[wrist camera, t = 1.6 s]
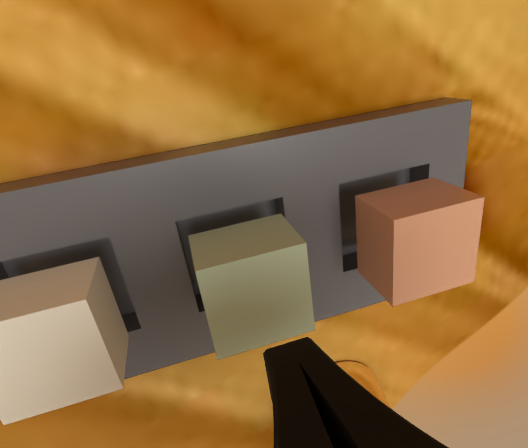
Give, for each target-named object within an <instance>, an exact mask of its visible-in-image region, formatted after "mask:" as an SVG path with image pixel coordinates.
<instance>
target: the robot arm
mask: <svg viewBox="0 0 528 448" xmlns="http://www.w3.org/2000/svg"><path fill="white" fill-rule="evenodd" d="M263 355H264V361H265V366H266V372H267V377H268V383H269V388H270V394H271V399H272V402H273V416H274V448H448V447H447V446H445V445H443V444H442V443H440V442H438V441H437V440H435V439H434V438H432V437H431V436H429V435H428V434H426V433H424V432H423V431H422V430H420V429H419V428H417V427H416V426H414V425H413V424H411V423H410V422H408V421H407V420H406V419H404V418H403V417H401V416H400V415H399V414H397V413H396V412H395V411H393V410H392V409H391V408H389V407H388V406H387V405H385V404H384V403H383V402H381V401H380V400H379V399H378V398H376V397H375V396H374V395H373V394H371V393H370V392H369V391H368V390H366V389H365V388H364V387H363V386H362V385H360V384H359V383H358V382H357V381H356V380H354V379H353V378H352V377H351V376H350V375H348V374H347V373H346V372H345V371H344V370H343V369H342V368H341V367H339V366H338V365H337V364H336V363H335V362H334V361H333V360H332V359H331V358H330V357H329V356H328V355H327V354H326V353H324V352H323V351H322V350H321V349H320V348H319V347H318V346H317V345H316V344H315V343H314V341H313V340H312V339H310V338H308V337H305V338H302V339H299V340H296V341H292V342H289V343H286V344H283V345H279V346H276V347H273V348H270V349H267V350H266V351H265V352H264V353H263Z"/></svg>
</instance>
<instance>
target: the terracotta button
mask: <svg viewBox="0 0 528 448" xmlns="http://www.w3.org/2000/svg"><path fill="white" fill-rule="evenodd" d="M483 205H484V197H483V196H480V195H478V194H475V193H473V192H470V191H467V190H465V189H462V188H460V187H457V186H455V185H452V184H449V183H447V182H444V181H442V180H439V179H436V178H434V177H432V178H428V179H423V180H419V181H415V182H411V183H407V184H402V185H398V186H394V187H390V188H386V189H381V190H377V191H373V192H369V193H365V194H360V195H356V196H355V207H356V236H357V265H358V272H359V273H360V274H361V275H362V276H363V277H364V278H365V279H366V280H367V281H368V282H369V283H370V284H371V285H372V286H373V287H374V288H375V289H376V290H377V291H378V292H379V293H380V294H381V295H382V296H383V297H384V298H385V299H386V300H387V301H388V302H389V303H390V304H391V305H392V306H396V305H399V304H403V303H406V302H409V301H412V300H416V299H419V298H422V297H425V296H429V295H432V294H435V293H439V292H442V291H445V290H448V289H452V288H455V287H458V286H461V285H465V284H468V283H471V282H474V277H475V269H476V261H477V253H478V245H479V237H480V229H481V221H482V213H483Z"/></svg>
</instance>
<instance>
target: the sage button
mask: <svg viewBox="0 0 528 448" xmlns="http://www.w3.org/2000/svg"><path fill="white" fill-rule="evenodd" d="M188 238H189V243H190V248H191V253H192V259H193V264H194V269H195V273H196V277H197V281H198V285H199V289H200V293H201V297H202V301H203V305H204V309H205V313H206V317H207V321H208V325H209V328H210V332H211V336H212V340H213V344H214V348H215V352H216V356H217V360H219V359H222V358H226V357H229V356H232V355H236V354H239V353H242V352H245V351H249V350H252V349H255V348H258V347H262V346H265V345H268V344H272V343H275V342H278V341H281V340H285V339H288V338H291V337H295V336H298V335H301V334H304V333H308V332H311V331H314V330H315V324H314V314H313V304H312V294H311V284H310V274H309V264H308V254H307V244H306V242H305V241H304V240H303V238H302V237H301V236H300V235H299V234H298V233H297V231H296V230H295V229H294V228H293V227H292V226H291V225H290V223H289V222H288V221H287V220H286V219H285V218H284V217H283V215H282V214H276V215H272V216H268V217H264V218H260V219H255V220H251V221H247V222H243V223H238V224H234V225H230V226H226V227H222V228H217V229H213V230H209V231H205V232H201V233H196V234H192V235H188Z"/></svg>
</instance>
